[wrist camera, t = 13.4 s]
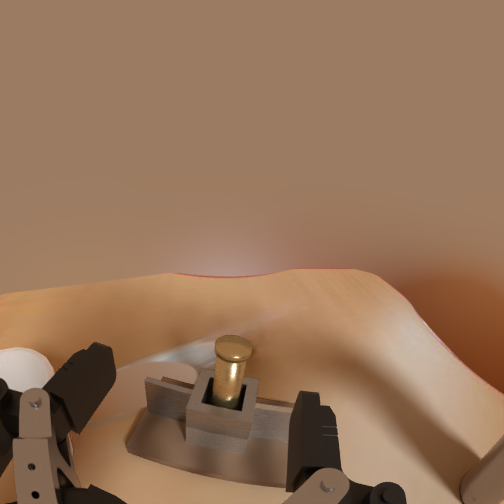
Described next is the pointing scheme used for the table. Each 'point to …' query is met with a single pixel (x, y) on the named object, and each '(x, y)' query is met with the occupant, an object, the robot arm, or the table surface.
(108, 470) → the table surface
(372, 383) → the table surface
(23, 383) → the foam cup
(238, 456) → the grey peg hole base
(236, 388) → the brass capped peg
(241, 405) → the grey winged socket holder
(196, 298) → the table surface
